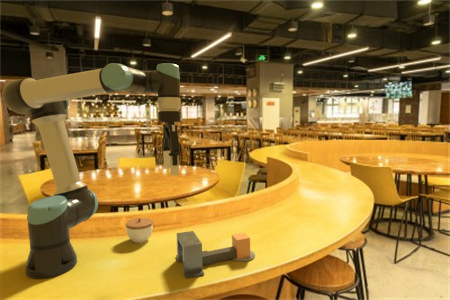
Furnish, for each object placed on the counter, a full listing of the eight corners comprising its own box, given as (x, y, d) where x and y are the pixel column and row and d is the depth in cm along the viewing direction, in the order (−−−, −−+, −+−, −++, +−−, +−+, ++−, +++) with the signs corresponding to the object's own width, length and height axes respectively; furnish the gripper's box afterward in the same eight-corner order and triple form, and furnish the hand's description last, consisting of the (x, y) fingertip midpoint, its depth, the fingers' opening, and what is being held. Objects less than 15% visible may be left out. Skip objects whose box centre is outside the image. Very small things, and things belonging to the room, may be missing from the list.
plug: (198, 259, 106) (197, 241, 105) (244, 250, 112) (244, 232, 111) (202, 266, 101) (201, 247, 100) (250, 256, 107) (249, 237, 106)
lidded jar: (155, 234, 129) (155, 213, 127) (150, 245, 118) (149, 222, 117) (130, 235, 128) (129, 214, 127) (123, 246, 118) (122, 223, 116)
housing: (176, 257, 108) (175, 231, 107) (192, 254, 110) (191, 228, 109) (185, 278, 94) (185, 249, 92) (204, 275, 96) (203, 246, 95)
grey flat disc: (226, 252, 111) (226, 251, 111) (248, 248, 115) (248, 247, 115) (236, 263, 103) (235, 262, 103) (259, 259, 106) (259, 257, 106)
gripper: (153, 111, 112) (155, 166, 114) (164, 109, 89) (166, 179, 91) (173, 111, 115) (174, 165, 117) (188, 109, 91) (189, 177, 94)
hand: (171, 171), depth 104 cm, fingers open, 13 cm apart
